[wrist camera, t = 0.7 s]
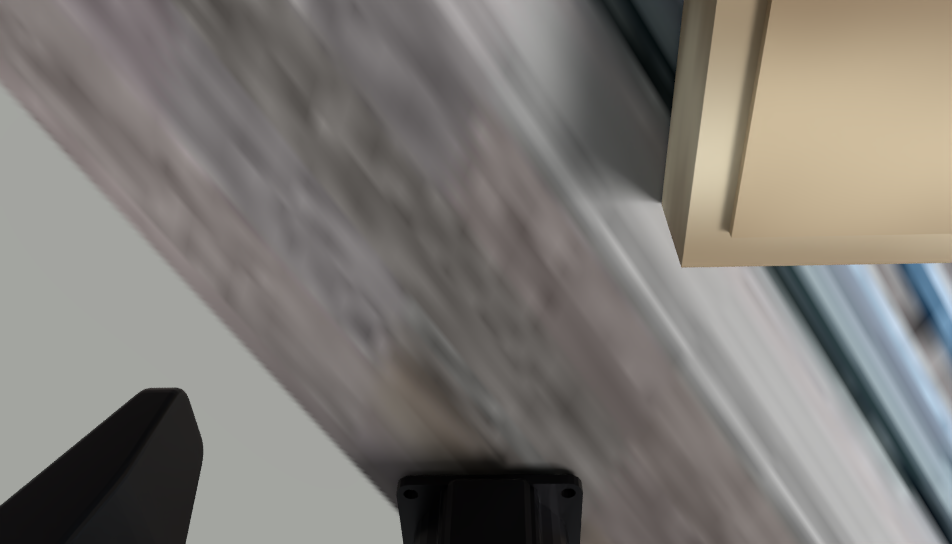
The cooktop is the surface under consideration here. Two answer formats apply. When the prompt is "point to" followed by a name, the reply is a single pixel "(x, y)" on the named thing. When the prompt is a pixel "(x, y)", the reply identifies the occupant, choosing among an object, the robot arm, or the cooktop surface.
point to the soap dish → (811, 133)
